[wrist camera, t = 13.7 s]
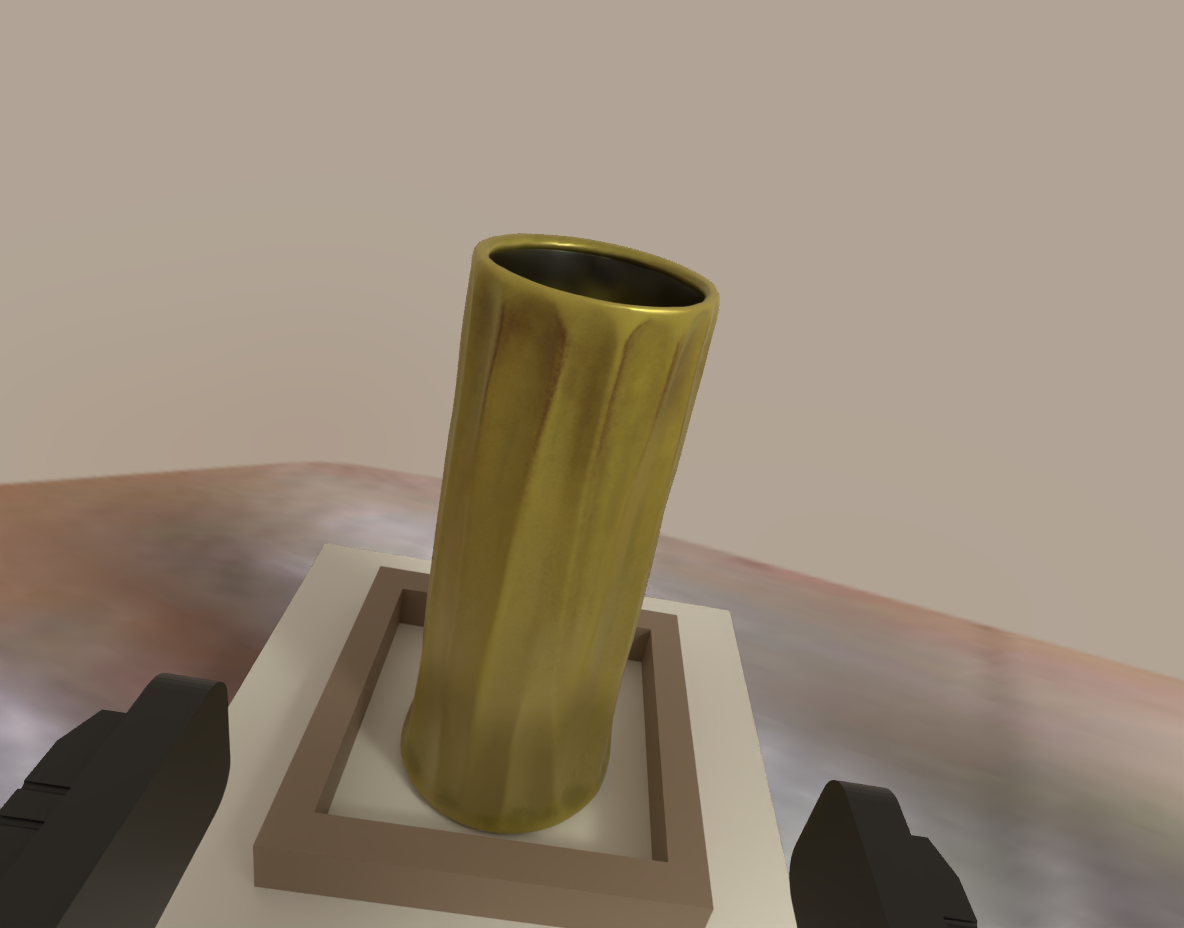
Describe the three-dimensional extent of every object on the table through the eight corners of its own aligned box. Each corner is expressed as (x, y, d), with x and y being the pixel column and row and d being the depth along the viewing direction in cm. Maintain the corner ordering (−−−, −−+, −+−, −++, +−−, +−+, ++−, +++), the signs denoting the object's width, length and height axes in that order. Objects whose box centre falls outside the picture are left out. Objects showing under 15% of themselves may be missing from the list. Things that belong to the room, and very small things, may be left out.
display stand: (703, 683, 32) (740, 580, 29) (779, 1178, 18) (862, 1063, 15) (323, 622, 31) (326, 510, 28) (78, 1100, 17) (41, 960, 14)
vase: (606, 682, 25) (720, 259, 18) (609, 853, 20) (772, 342, 13) (423, 656, 25) (473, 211, 18) (376, 824, 19) (421, 276, 13)
